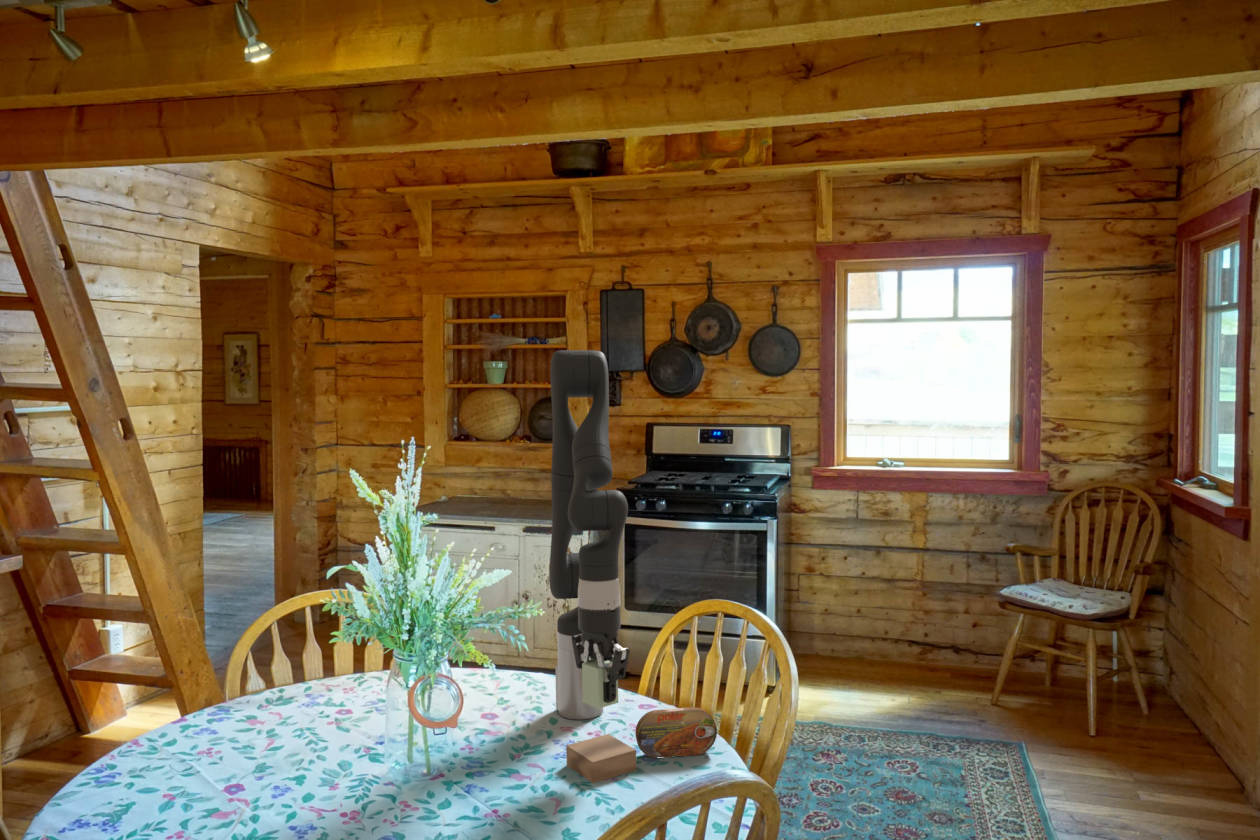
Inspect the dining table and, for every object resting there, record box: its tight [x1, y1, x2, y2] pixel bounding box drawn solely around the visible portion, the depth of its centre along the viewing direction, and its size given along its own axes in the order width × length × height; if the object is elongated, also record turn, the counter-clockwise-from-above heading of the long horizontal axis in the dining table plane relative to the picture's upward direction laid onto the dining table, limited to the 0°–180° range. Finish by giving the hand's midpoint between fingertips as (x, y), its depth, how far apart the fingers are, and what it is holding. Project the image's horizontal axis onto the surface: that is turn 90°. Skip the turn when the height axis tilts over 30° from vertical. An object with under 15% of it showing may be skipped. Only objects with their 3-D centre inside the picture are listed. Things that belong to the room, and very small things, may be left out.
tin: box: [635, 706, 718, 759], centre depth 175 cm, size 15×3×8 cm, turn 99°
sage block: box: [582, 660, 619, 709], centre depth 168 cm, size 4×4×7 cm
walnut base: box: [565, 733, 637, 784], centre depth 169 cm, size 9×9×4 cm
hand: (600, 697), depth 169 cm, fingers closed on sage block, 4 cm apart
